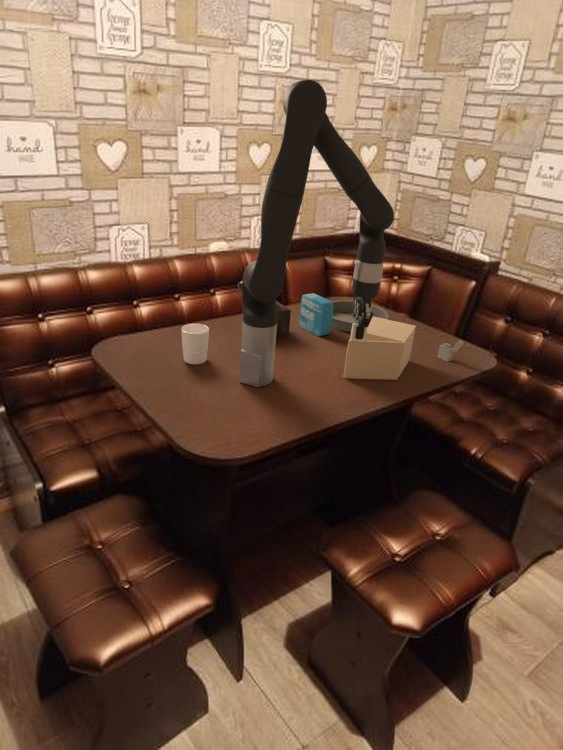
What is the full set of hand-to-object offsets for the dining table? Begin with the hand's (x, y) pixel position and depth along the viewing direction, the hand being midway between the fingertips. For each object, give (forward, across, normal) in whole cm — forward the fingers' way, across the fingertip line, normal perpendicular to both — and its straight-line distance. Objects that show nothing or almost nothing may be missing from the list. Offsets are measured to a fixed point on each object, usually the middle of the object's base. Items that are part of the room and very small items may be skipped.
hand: (358, 337), depth 151 cm
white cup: (+13, +10, +46) cm, 48 cm away
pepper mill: (+13, +32, +24) cm, 42 cm away
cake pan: (+14, +46, -11) cm, 49 cm away
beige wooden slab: (+13, 0, -5) cm, 14 cm away
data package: (+13, +36, +6) cm, 39 cm away
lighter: (+13, +14, -35) cm, 40 cm away
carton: (+13, +11, -11) cm, 20 cm away
